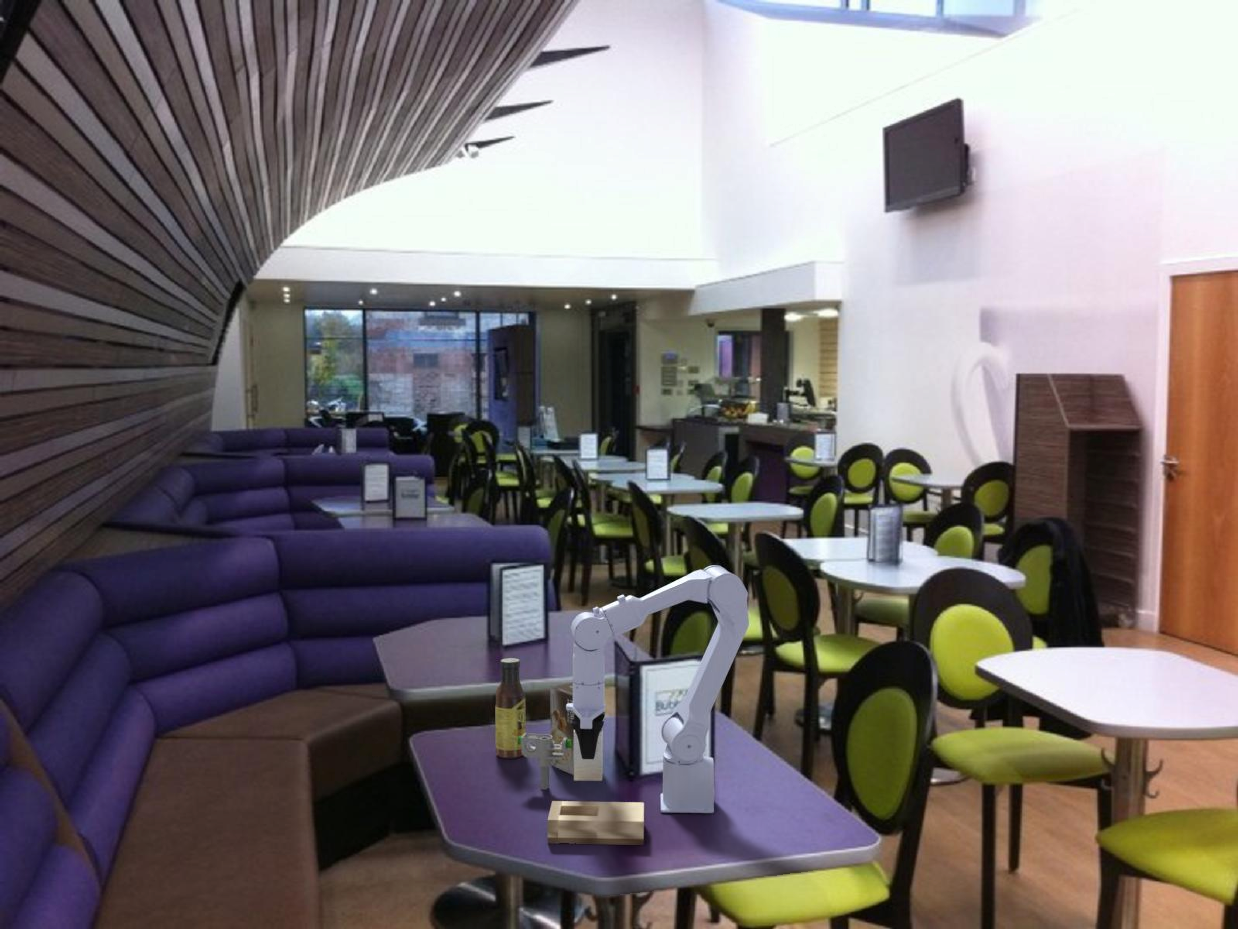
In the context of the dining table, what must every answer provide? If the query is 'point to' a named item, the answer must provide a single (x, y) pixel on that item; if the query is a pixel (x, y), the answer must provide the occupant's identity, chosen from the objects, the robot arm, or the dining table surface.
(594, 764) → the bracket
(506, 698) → the sauce bottle
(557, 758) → the mechanical component
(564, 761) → the coffee box
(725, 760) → the dining table surface
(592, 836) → the slotted wooden block
